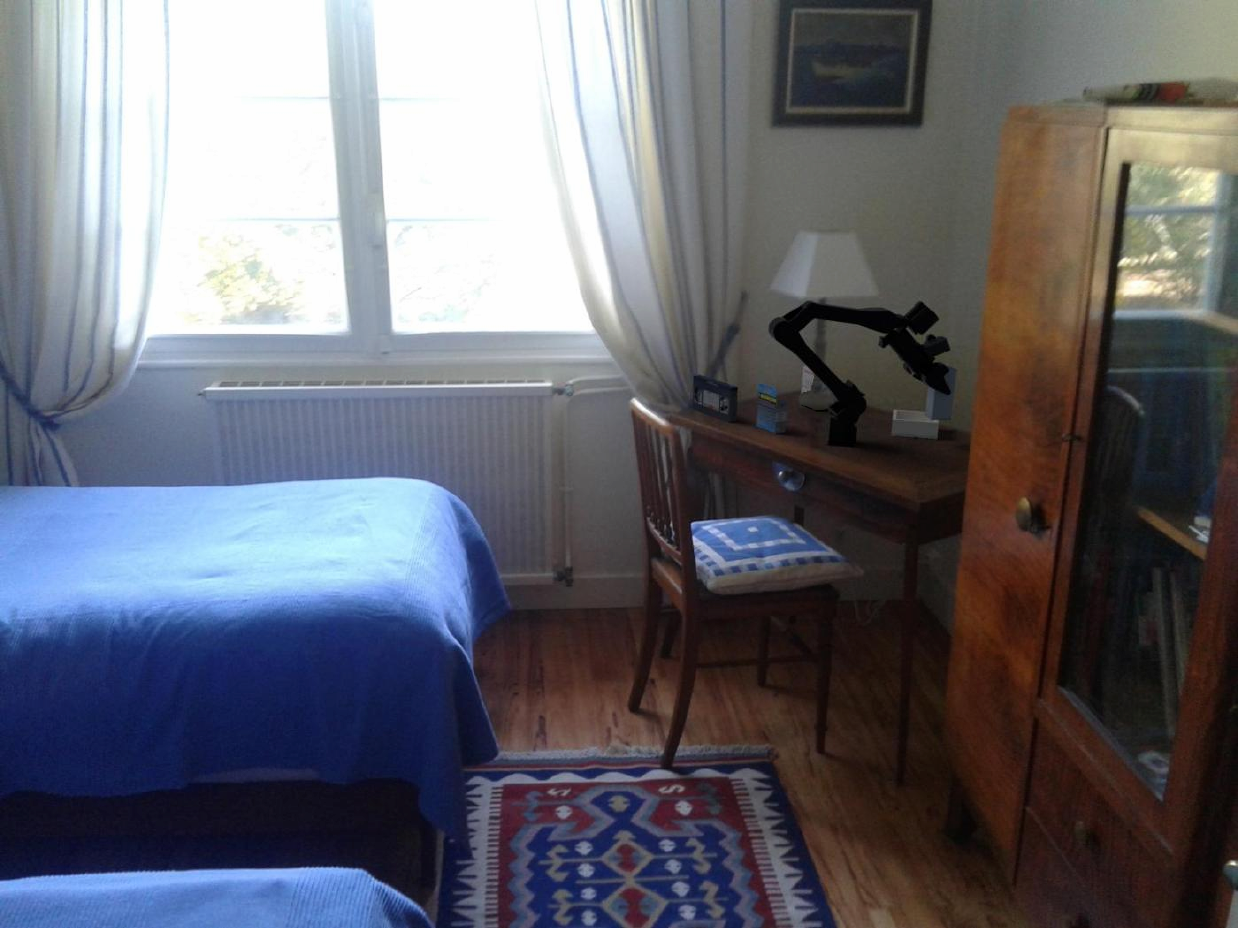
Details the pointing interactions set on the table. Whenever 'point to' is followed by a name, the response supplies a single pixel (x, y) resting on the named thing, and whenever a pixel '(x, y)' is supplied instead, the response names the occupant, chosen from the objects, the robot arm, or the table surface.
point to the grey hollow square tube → (941, 399)
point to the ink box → (810, 381)
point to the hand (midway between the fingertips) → (945, 391)
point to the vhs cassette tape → (715, 398)
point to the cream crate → (914, 425)
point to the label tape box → (771, 410)
